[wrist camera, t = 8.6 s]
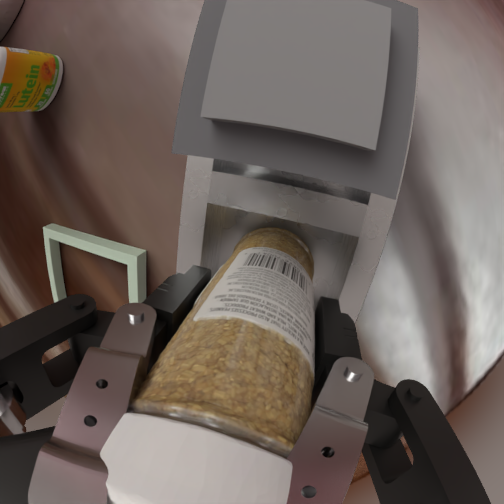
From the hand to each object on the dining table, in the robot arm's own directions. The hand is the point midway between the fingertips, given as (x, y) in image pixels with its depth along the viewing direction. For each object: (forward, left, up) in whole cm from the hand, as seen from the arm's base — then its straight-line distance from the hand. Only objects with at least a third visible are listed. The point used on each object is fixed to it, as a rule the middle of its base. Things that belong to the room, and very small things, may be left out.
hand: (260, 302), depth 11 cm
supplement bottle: (-22, +11, -6) cm, 25 cm away
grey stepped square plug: (0, +8, -6) cm, 10 cm away
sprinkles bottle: (0, 0, -4) cm, 4 cm away
